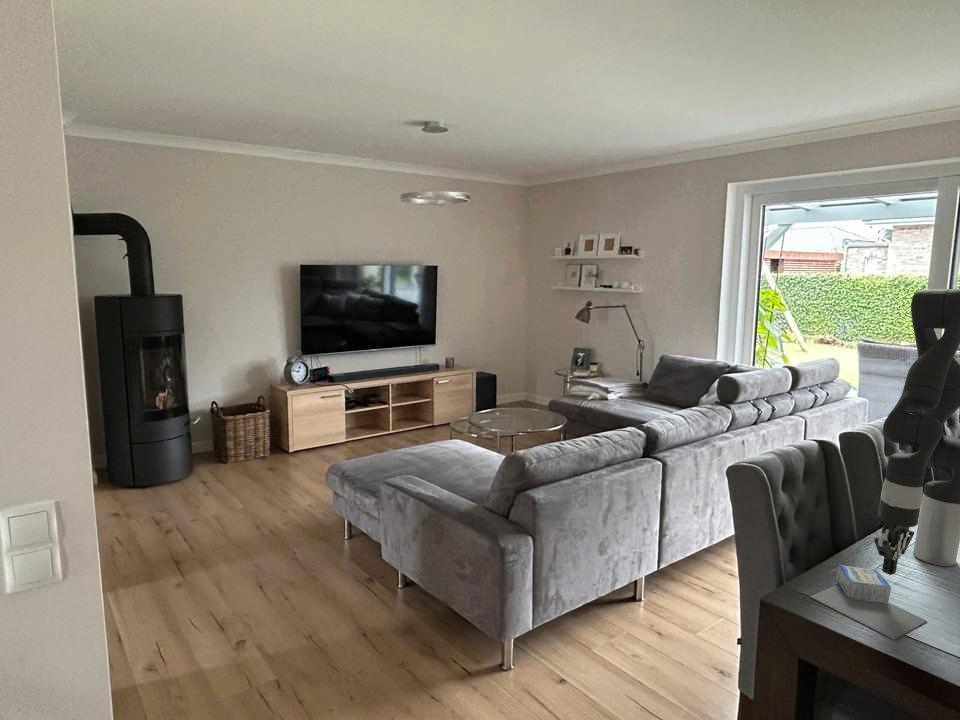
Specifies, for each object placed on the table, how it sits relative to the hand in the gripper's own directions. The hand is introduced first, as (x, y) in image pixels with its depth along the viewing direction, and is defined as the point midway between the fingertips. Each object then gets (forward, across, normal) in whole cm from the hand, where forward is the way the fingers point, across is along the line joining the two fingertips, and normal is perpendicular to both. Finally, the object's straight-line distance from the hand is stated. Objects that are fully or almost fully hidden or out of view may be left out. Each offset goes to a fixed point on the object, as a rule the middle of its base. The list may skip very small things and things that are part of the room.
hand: (888, 572), depth 142 cm
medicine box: (+5, -2, -1) cm, 5 cm away
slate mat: (+7, +7, 0) cm, 10 cm away
